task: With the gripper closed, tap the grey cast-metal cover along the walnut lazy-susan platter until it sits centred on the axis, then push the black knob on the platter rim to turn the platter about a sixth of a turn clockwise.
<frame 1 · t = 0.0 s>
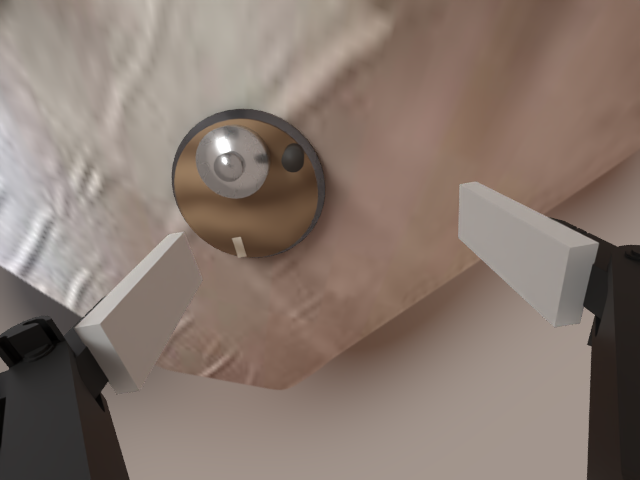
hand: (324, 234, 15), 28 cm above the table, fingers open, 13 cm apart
cover: (237, 159, 38), point 3 cm above the table, touching platter
platter: (244, 198, 38), point 5 cm above the table, hinge at 0.0°, touching cover
turntable base: (250, 188, 42), on the table
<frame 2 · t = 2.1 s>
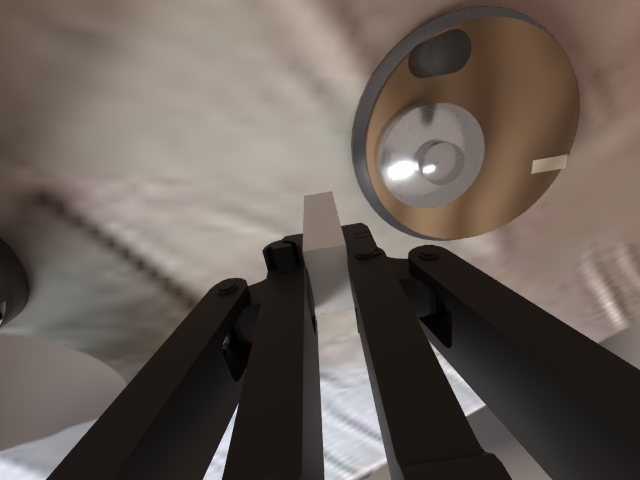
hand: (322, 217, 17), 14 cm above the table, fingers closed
cover: (419, 152, 27), point 3 cm above the table, touching platter
platter: (482, 146, 25), point 5 cm above the table, hinge at 0.0°, touching cover
turntable base: (457, 139, 29), on the table
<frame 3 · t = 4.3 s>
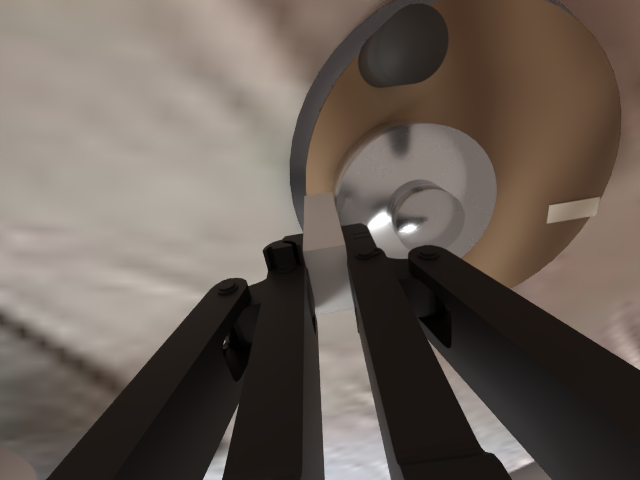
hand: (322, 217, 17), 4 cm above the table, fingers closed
cover: (399, 192, 18), point 3 cm above the table, touching gripper
platter: (474, 190, 17), point 5 cm above the table, hinge at -0.1°
turntable base: (441, 172, 21), on the table
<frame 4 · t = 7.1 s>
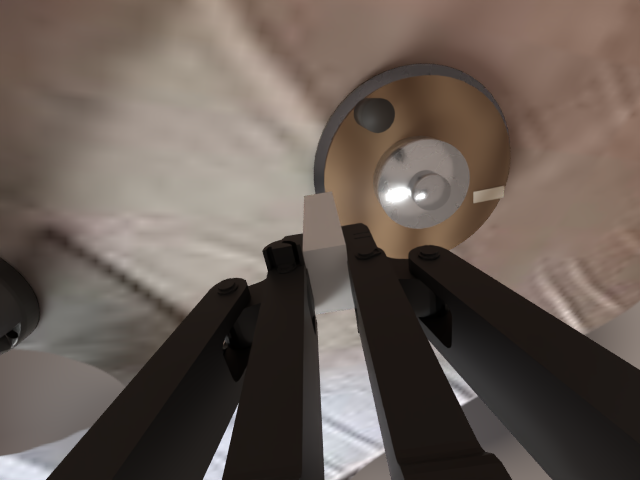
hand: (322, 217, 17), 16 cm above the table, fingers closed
cover: (413, 178, 30), point 3 cm above the table, touching platter
platter: (423, 184, 29), point 5 cm above the table, hinge at -0.2°, touching cover
turntable base: (408, 173, 33), on the table
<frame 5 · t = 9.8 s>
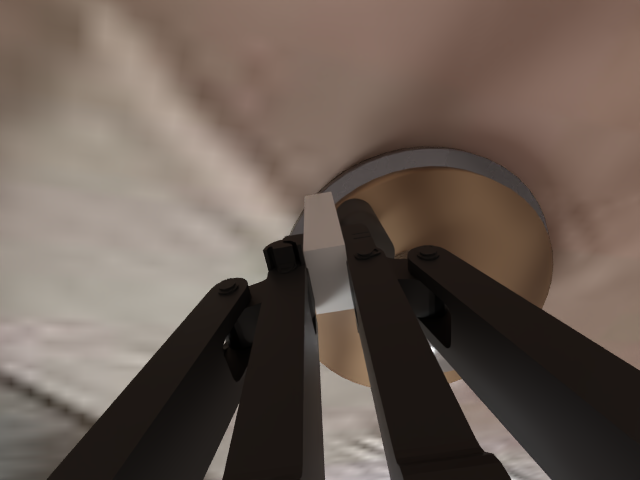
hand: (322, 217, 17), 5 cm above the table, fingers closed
platter: (430, 315, 20), point 5 cm above the table, hinge at -0.7°, touching cover, gripper
turntable base: (409, 278, 24), on the table
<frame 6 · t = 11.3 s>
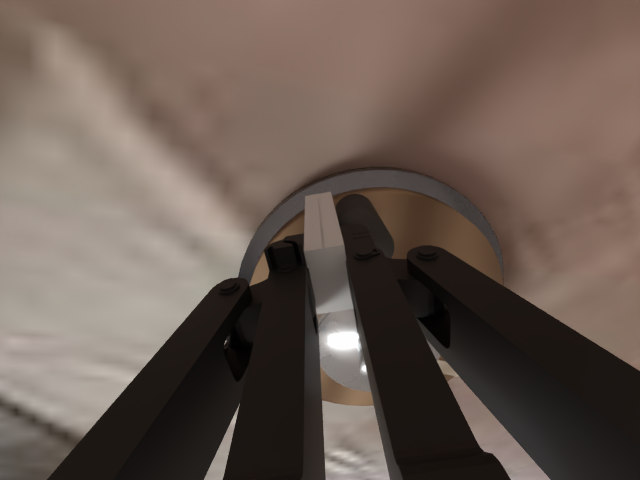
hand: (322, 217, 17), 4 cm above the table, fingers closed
cover: (371, 314, 22), point 3 cm above the table, touching platter
platter: (379, 334, 20), point 5 cm above the table, hinge at -26.1°, touching cover, gripper
turntable base: (367, 294, 24), on the table
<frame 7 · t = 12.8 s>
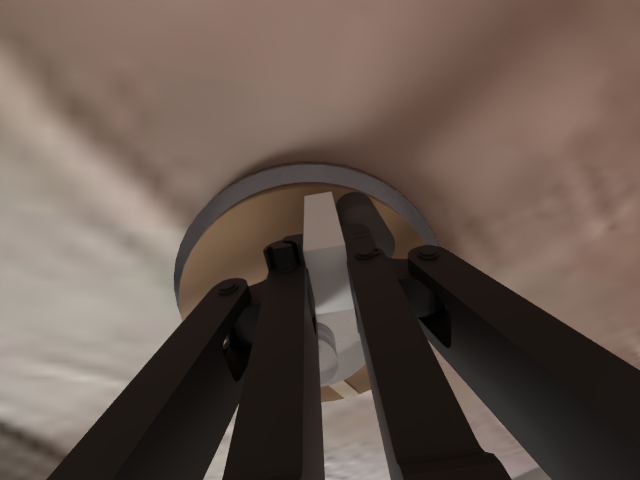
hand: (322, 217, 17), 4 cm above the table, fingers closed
cover: (310, 310, 22), point 3 cm above the table, touching platter
platter: (311, 331, 20), point 5 cm above the table, hinge at -58.8°, touching cover, gripper
turntable base: (311, 291, 24), on the table
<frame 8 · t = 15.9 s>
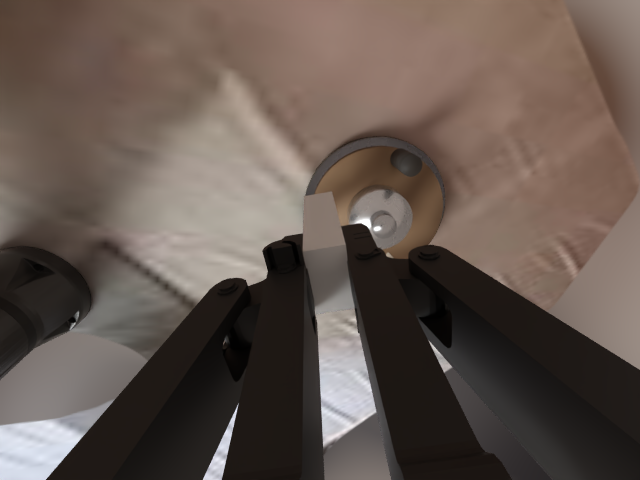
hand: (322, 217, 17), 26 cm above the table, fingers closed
cover: (376, 213, 42), point 3 cm above the table, touching platter
platter: (379, 220, 41), point 5 cm above the table, hinge at -56.0°, touching cover
turntable base: (373, 208, 45), on the table
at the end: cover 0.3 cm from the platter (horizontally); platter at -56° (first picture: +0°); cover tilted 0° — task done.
